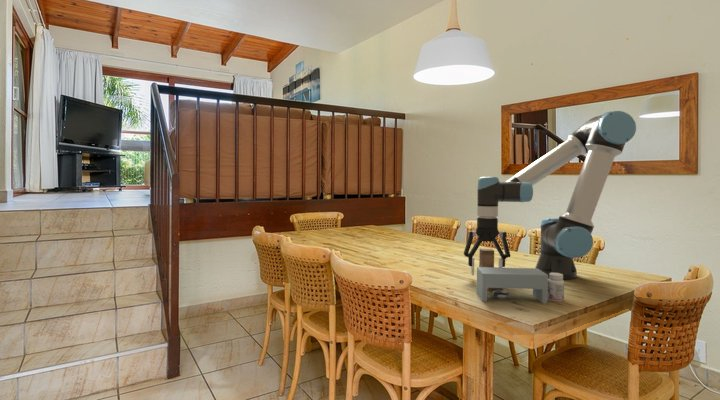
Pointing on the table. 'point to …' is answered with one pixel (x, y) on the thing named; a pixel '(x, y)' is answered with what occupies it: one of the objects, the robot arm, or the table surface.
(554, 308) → the table surface
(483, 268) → the bench
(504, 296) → the steel puck
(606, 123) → the robot arm
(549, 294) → the pill bottle
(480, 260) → the brown angled block
